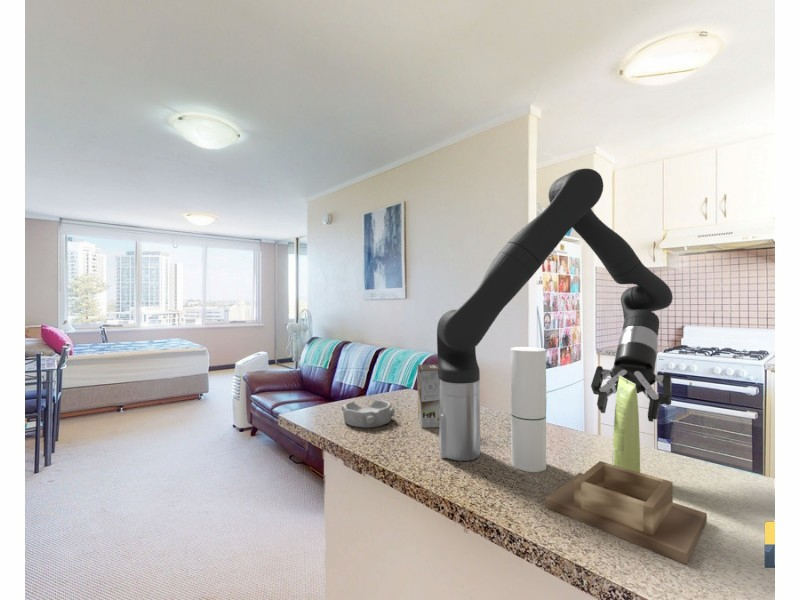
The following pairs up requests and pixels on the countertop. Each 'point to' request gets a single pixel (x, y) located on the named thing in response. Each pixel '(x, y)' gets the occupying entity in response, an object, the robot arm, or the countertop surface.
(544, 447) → the cylindrical container
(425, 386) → the coffee box
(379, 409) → the dish
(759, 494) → the countertop surface
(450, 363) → the robot arm
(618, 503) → the wooden box on board
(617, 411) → the tube
